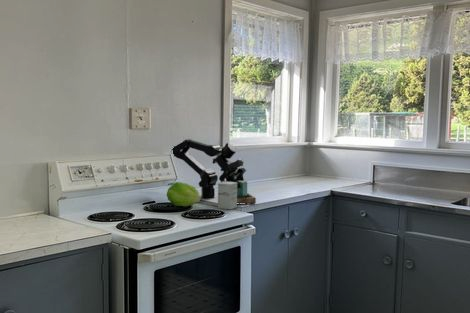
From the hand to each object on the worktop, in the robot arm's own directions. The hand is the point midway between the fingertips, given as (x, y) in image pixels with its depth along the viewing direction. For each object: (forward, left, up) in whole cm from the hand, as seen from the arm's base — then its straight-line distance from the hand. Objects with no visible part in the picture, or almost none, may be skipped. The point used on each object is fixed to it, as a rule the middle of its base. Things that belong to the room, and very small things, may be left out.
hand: (242, 186), depth 244 cm
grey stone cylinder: (-11, -11, -8) cm, 18 cm away
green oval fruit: (-31, -5, -8) cm, 32 cm away
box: (-1, +1, -8) cm, 8 cm away
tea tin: (0, 0, -7) cm, 7 cm away
